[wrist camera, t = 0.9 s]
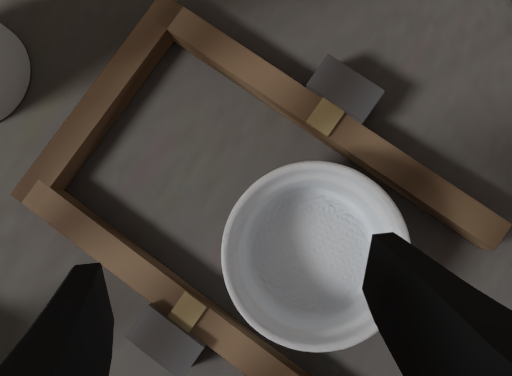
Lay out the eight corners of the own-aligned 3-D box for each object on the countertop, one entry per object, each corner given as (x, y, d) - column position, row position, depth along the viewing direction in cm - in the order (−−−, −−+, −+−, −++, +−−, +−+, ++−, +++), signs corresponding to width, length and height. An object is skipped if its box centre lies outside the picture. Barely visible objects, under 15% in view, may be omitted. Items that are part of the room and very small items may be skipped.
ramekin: (229, 328, 24) (217, 350, 20) (233, 171, 25) (222, 159, 21) (391, 334, 23) (415, 356, 19) (388, 173, 24) (411, 160, 20)
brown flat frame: (517, 195, 24) (541, 191, 21) (328, 474, 23) (333, 499, 21) (188, -20, 26) (179, -43, 24) (6, 224, 25) (-20, 223, 23)
